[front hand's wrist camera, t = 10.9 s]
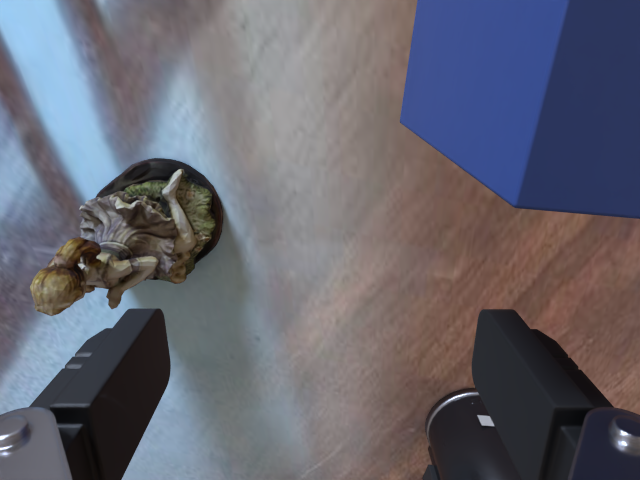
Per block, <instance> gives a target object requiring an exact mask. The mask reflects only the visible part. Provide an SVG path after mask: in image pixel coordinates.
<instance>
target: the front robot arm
mask: <svg viewBox="0 0 640 480" xmlns="http://www.w3.org/2000/svg"><path fill="white" fill-rule="evenodd" d="M472 376H473V381H474V385H475V387H476V388H468V389H462V390H459V391H455V392H453V393H451V394H449V395H447V396H445V397H443V398H442V399H441V400H439V401H438V402H437V403H436V404H435V405H434V406H433V408H432V409H431V411H430V412H429V414H428V416H427V419H426V424H425V430H426V435H427V439H428V442H429V445H430V446H429V448H428V451H429V455H430V458H431V461H432V465H428V467H427V469H426V471H425V473H424V475H423V480H640V415H638V414H636V413H633V412H630V411H627V410H624V409H619V408H614V407H613V406H612V404H611V403H610V402H609V401H608V400H607V399H606V398H605V397H604V395H603V394H602V393H601V392H600V391H599V390H598V389H597V387H596V386H595V385H594V384H593V383H592V382H591V381H590V379H589V378H588V377H587V376H586V375H585V374H584V373H583V372H582V370H579V369H578V366H577V365H576V364H575V362H574V361H573V360H572V359H571V358H568V355H567V353H566V352H565V351H564V350H563V349H562V348H561V347H560V345H559V344H558V343H557V342H556V341H555V340H553V339H552V338H550V337H548V336H547V335H545V334H544V333H542V332H540V331H539V330H537V329H530V328H529V327H528V326H527V324H526V323H525V322H524V321H523V319H522V318H521V317H520V316H519V315H518V313H517V312H516V311H515V310H512V309H483V310H481V312H480V314H479V317H478V323H477V330H476V337H475V344H474V351H473V358H472ZM169 377H170V355H169V348H168V341H167V334H166V327H165V319H164V315H163V312H162V310H161V309H128V310H127V311H126V312H125V313H124V315H123V316H122V317H121V318H120V320H119V321H118V322H117V323H116V325H115V326H114V327H113V328H106V329H104V330H103V331H101V332H99V333H98V334H96V335H95V336H93V337H91V338H90V339H88V340H87V341H86V342H85V343H84V344H83V346H82V347H81V348H80V349H79V350H78V351H77V352H76V354H75V357H72V358H71V359H70V360H69V362H68V363H67V364H66V365H65V369H62V370H61V371H60V372H59V373H58V374H57V375H56V377H55V378H54V379H53V380H52V381H51V382H50V383H49V385H48V386H47V387H46V388H45V389H44V390H43V391H42V393H41V394H40V395H39V396H38V397H37V398H36V399H35V401H34V402H33V403H32V404H31V405H30V406H29V407H27V408H21V409H16V410H13V411H10V412H7V413H4V414H2V415H0V480H121V479H122V477H123V475H124V473H125V471H126V469H127V467H128V465H129V463H130V461H131V459H132V457H133V455H134V453H135V451H136V449H137V446H138V444H139V442H140V440H141V438H142V436H143V434H144V432H145V430H146V428H147V426H148V424H149V422H150V420H151V418H152V416H153V414H154V412H155V410H156V408H157V406H158V404H159V401H160V399H161V397H162V395H163V393H164V391H165V389H166V387H167V385H168V381H169Z"/></svg>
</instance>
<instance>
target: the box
mask: <svg viewBox="0 0 640 480" xmlns="http://www.w3.org/2000/svg"><path fill="white" fill-rule="evenodd" d="M400 123H401V124H403V125H404V126H405V127H407V128H408V129H410V130H411V131H412V132H414V133H415V134H416V135H418V136H419V137H420V138H422V139H423V140H424V141H426V142H427V143H428V144H430V145H431V146H432V147H434V148H435V149H436V150H438V151H439V152H440V153H442V154H443V155H444V156H446V157H447V158H448V159H450V160H451V161H452V162H454V163H455V164H456V165H458V166H459V167H461V168H462V169H463V170H465V171H466V172H467V173H469V174H470V175H471V176H473V177H474V178H475V179H477V180H478V181H479V182H481V183H482V184H483V185H485V186H486V187H487V188H489V189H490V190H491V191H493V192H494V193H495V194H497V195H498V196H499V197H501V198H502V199H503V200H505V201H506V202H507V203H509V204H510V205H512V206H513V207H515V208H522V209H534V210H545V211H557V212H568V213H580V214H591V215H603V216H614V217H626V218H637V219H640V0H418V2H417V8H416V15H415V22H414V29H413V36H412V42H411V49H410V56H409V63H408V70H407V76H406V83H405V90H404V97H403V104H402V110H401V117H400Z"/></svg>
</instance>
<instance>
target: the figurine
mask: <svg viewBox="0 0 640 480" xmlns="http://www.w3.org/2000/svg"><path fill="white" fill-rule="evenodd" d="M79 210H81V211H82V213H81V215H80V216H81V217H83V220H82V222H81V224H80V228H81V236H80V237H78V238H73V239H70V240H69V241H68V242H67V243H66V245H64V246H62V247H60V249H59V250H58V251H57V252H56V255H55V257H54V258H53V259H52V260H51V261H50V262H49V263H48V266H47V268H45V269H42V270H40V271H39V273H38V274H37V275H36V276H35V278H34V279H33V281H32V284H31V287H30V290H31V293H32V296H33V300H34V302H35V309H36V310H37V311H39V312H42V313H45V314H47V315H50V316H53V315H56V314H59V313H61V312H62V311H63V310H65V309H66V308H68V307H70V306H71V305H72V304H73V303H74V302H76V301H78V300H79V299H81V298H83V297H84V295H85V293H90V292H92V291H94V290H95V287H97V288H105V289H109V290H108V293H107V296H106V297H107V298H108V299H109V303H108V305H109V306H110V308H111V309H114V308H116V307H117V306H118V304H120V301H121V296H122V294H123V293H124V291H125V290H127V289H129V288H131V287H133V286H135V285H136V284H138V283H139V282H141V281H143V280H146V279H153V280H158V279H160V280H165V281H169V282H173V283H175V284H178V283H181V282H183V281H185V280H186V275H188V274H189V273H191V272H192V270H193V269H194V268H195V263H197V262H198V261H199V260H200V259H202V258H203V257H204V256H206V255H207V254H208V253H209V252H210V251H211V250H212V249H213V248H214V247H215V246H216V244H217V242H218V240H219V238H220V235H221V232H222V223H223V211H222V206H221V202H220V199H219V197H218V194H217V192H216V190H215V188H214V186H213V185H212V184H211V183H210V182H209V181H208V180H207V179H206V177H205V176H204V175H202V174H201V173H199V172H198V171H196V170H195V169H194V168H192V167H191V166H189V165H187V164H185V163H183V162H179V161H175V160H172V159H160V158H154V159H148V160H144V161H141V162H138V163H136V164H133V165H131V166H130V167H129V168H127V169H126V170H125V171H124V172H123V173H122V174H121V175H119V176H118V177H117V178H115V179H114V180H113V181H111V182H110V183H109V184H108V185H107V186H105V187H104V188H103V189H102V190H101V191H100V192H99V193H98V194H97V196H96V198H94V199H92V200H89V201H86V203H85V205H84V206H81V207H80V209H79Z"/></svg>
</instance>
